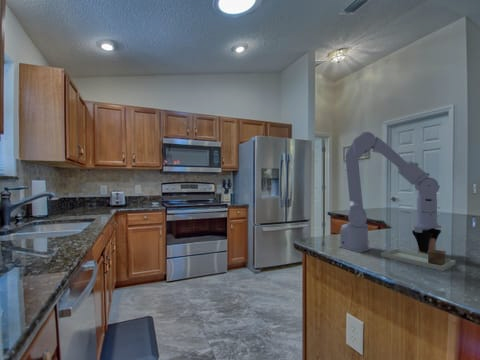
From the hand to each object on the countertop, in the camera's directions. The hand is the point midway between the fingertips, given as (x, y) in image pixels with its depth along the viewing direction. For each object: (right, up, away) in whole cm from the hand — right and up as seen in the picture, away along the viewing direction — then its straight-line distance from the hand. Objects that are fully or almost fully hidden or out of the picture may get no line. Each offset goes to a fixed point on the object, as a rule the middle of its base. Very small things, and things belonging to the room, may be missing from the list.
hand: (426, 250), depth 90 cm
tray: (-8, -2, -7) cm, 11 cm away
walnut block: (-5, -1, -12) cm, 13 cm away
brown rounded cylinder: (0, -2, 0) cm, 2 cm away
